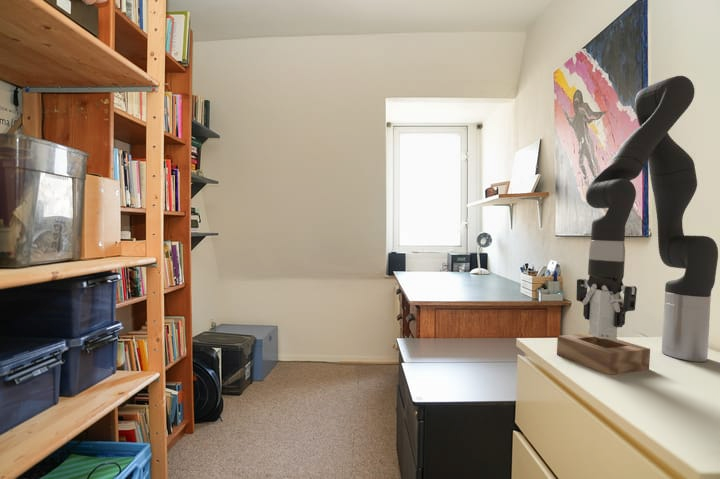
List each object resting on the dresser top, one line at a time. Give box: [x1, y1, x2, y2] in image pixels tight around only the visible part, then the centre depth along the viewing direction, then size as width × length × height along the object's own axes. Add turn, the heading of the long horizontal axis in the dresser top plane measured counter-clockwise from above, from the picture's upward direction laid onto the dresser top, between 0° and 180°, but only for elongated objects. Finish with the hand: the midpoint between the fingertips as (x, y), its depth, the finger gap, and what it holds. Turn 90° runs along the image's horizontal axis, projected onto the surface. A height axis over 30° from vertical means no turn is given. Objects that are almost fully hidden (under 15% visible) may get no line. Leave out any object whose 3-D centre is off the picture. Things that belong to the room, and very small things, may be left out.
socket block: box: [556, 332, 651, 376], centre depth 90 cm, size 14×14×5 cm
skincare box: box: [587, 289, 619, 340], centre depth 90 cm, size 6×4×12 cm
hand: (602, 322), depth 90 cm, fingers closed on skincare box, 7 cm apart
